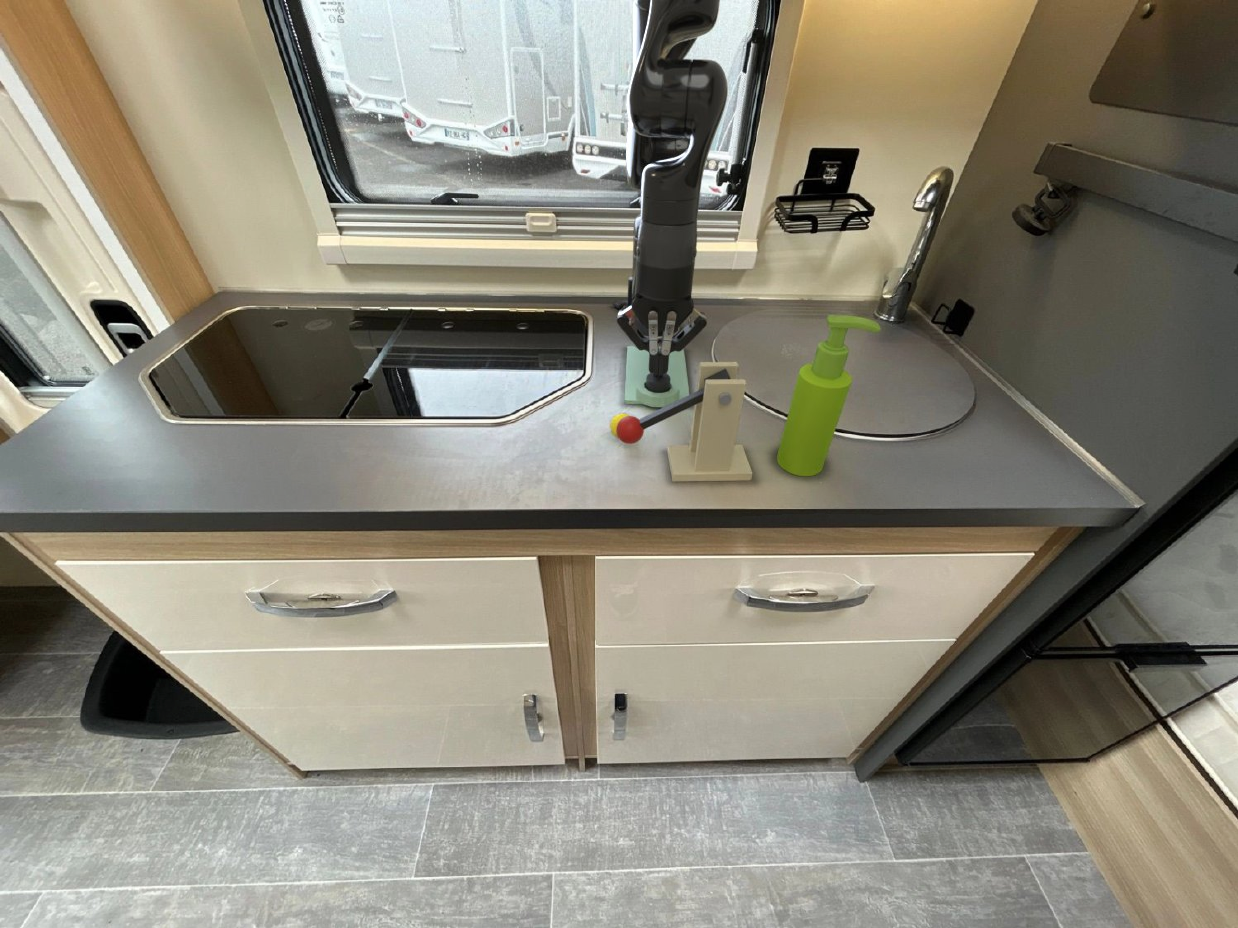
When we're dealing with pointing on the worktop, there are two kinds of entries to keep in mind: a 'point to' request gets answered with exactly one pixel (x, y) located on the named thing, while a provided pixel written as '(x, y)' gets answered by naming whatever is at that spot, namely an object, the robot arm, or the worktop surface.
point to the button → (658, 383)
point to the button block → (640, 369)
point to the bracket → (713, 431)
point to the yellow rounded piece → (616, 422)
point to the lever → (661, 413)
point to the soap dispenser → (819, 400)
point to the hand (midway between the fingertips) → (657, 374)
